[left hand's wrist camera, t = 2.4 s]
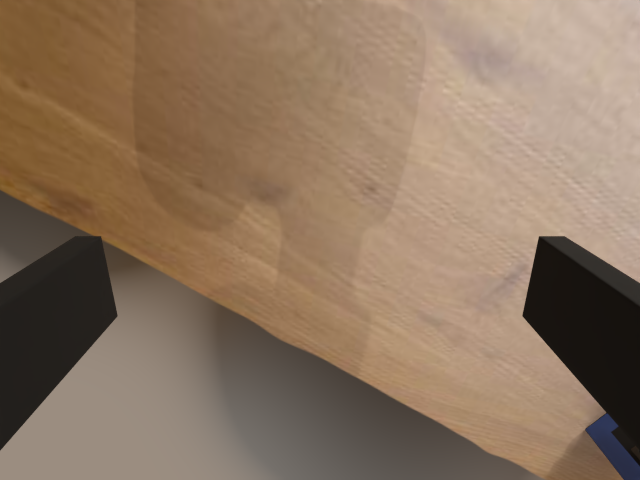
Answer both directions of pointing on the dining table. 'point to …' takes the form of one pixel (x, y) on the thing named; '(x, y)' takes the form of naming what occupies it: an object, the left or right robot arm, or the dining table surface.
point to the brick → (613, 448)
